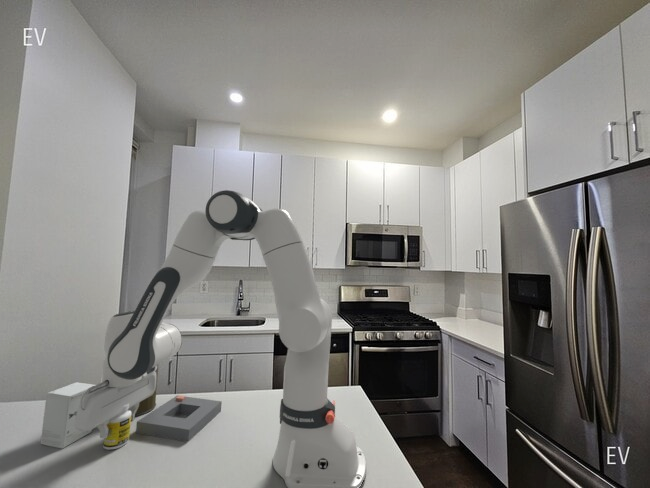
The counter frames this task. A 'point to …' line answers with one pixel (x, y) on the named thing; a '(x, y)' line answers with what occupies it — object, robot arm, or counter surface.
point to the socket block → (179, 428)
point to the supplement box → (63, 415)
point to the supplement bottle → (118, 430)
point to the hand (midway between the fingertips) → (117, 429)
